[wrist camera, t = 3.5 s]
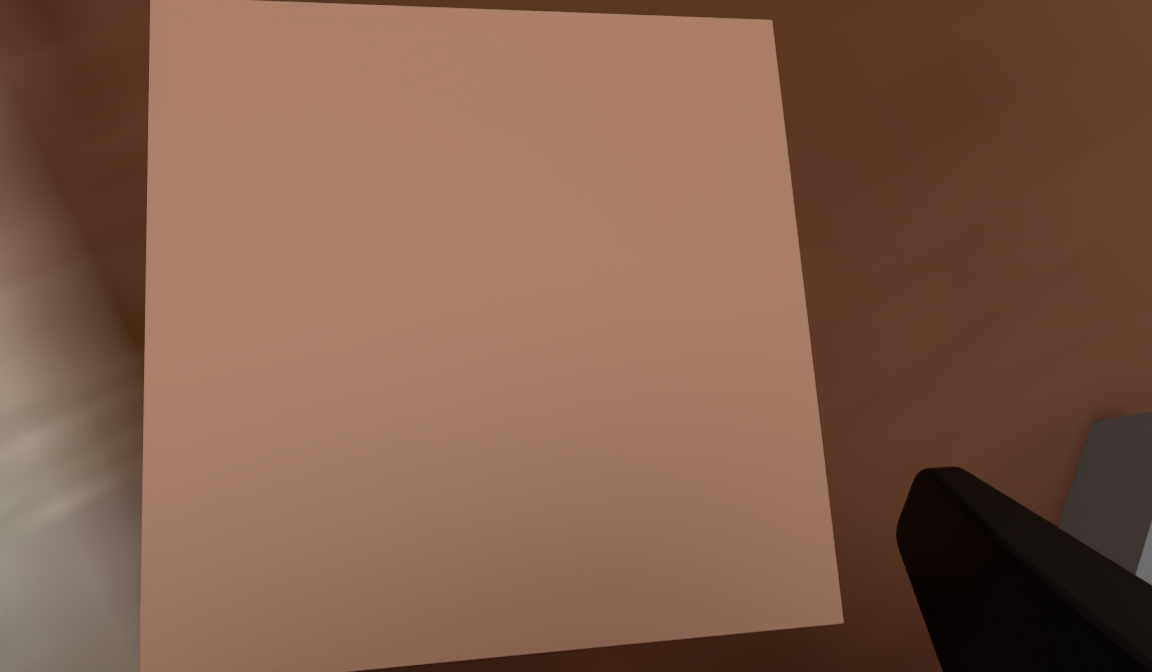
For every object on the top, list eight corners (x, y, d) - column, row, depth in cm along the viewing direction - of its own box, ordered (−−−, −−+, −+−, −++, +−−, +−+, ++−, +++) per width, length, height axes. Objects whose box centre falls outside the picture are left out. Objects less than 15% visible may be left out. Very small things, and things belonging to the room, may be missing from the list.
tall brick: (582, 576, 19) (844, 623, 8) (286, 600, 18) (138, 691, 7) (563, 299, 20) (772, 20, 9) (283, 305, 19) (150, -3, 8)
